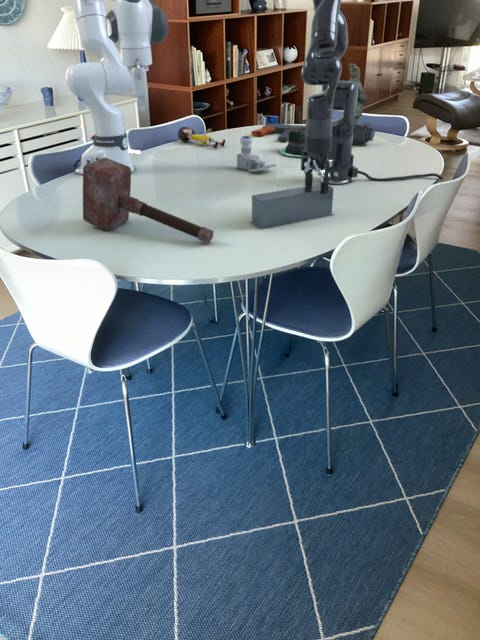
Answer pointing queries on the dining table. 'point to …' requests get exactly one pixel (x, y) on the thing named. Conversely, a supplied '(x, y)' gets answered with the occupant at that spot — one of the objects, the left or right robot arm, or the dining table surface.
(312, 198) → the bar
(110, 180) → the sledgehammer
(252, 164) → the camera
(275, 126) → the submachine gun
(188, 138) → the figurine
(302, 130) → the green hat
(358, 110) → the statue
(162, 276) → the dining table surface
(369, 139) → the toy
